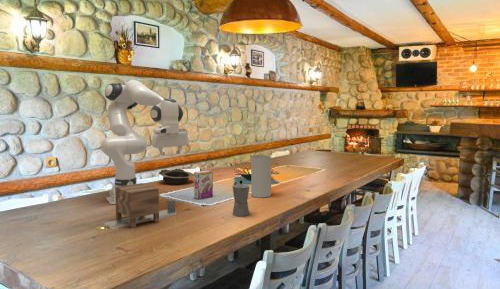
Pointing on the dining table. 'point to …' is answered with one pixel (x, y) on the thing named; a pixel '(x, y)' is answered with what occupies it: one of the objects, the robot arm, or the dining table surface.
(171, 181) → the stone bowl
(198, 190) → the candy bar box
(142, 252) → the dining table surface
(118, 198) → the walnut cabinet
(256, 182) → the cylinder vase
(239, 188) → the coffeepot
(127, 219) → the grey long bar
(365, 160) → the dining table surface
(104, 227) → the brass token
